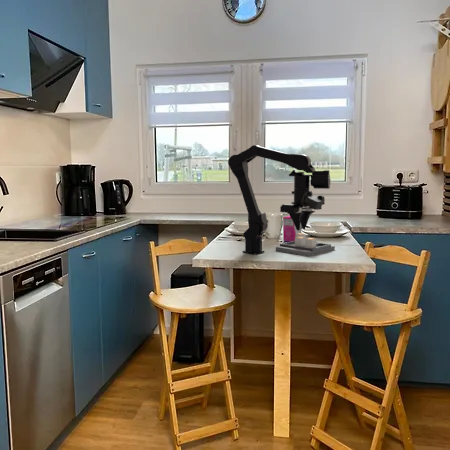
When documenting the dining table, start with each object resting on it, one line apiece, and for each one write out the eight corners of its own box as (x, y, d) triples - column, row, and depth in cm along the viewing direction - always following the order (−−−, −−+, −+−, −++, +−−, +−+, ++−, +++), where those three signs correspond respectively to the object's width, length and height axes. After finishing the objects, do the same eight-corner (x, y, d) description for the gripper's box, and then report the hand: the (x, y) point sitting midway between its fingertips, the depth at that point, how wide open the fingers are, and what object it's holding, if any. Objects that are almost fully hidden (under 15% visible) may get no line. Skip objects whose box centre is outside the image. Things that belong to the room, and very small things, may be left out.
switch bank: (308, 256, 173) (308, 249, 173) (275, 250, 185) (275, 244, 184) (334, 249, 186) (334, 243, 185) (302, 244, 197) (302, 239, 197)
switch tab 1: (301, 244, 189) (301, 234, 188) (295, 243, 191) (295, 233, 190) (305, 243, 191) (305, 233, 190) (299, 242, 193) (299, 233, 192)
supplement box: (289, 240, 209) (289, 215, 207) (300, 241, 205) (301, 216, 204) (282, 241, 204) (282, 216, 203) (294, 243, 201) (294, 217, 199)
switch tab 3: (311, 250, 177) (311, 239, 176) (305, 249, 179) (305, 238, 178) (316, 249, 179) (316, 238, 178) (309, 248, 181) (309, 237, 180)
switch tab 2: (301, 248, 180) (301, 238, 180) (294, 247, 182) (295, 237, 182) (305, 247, 182) (305, 237, 182) (299, 246, 185) (299, 236, 184)
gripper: (304, 190, 159) (303, 234, 161) (334, 188, 172) (332, 229, 174) (279, 189, 167) (279, 231, 169) (309, 187, 180) (308, 226, 182)
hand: (301, 229), depth 173 cm, fingers open, 3 cm apart
